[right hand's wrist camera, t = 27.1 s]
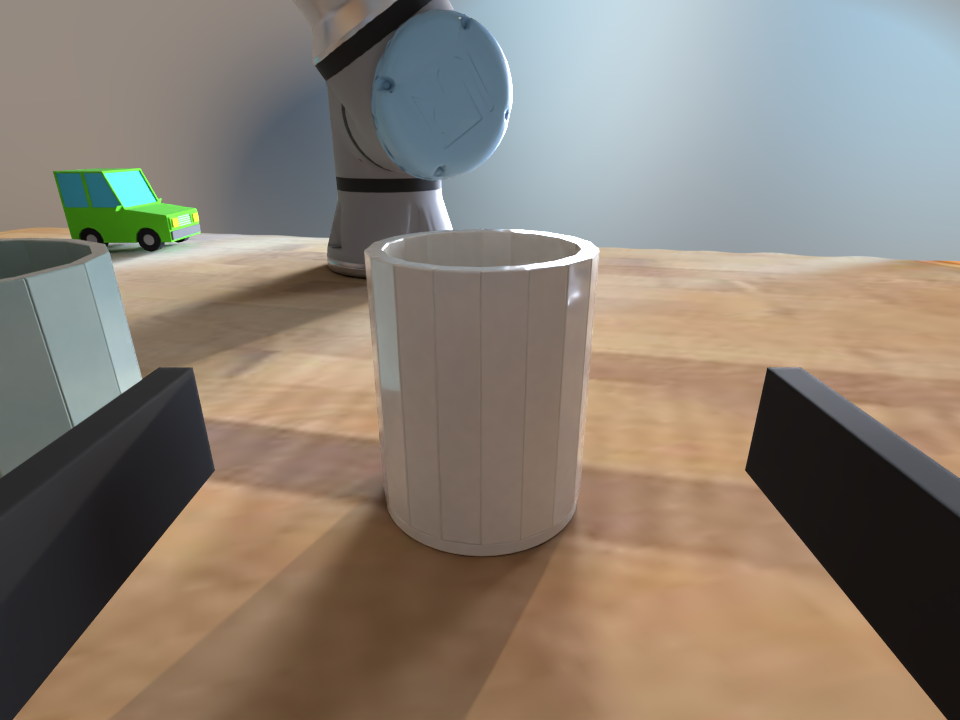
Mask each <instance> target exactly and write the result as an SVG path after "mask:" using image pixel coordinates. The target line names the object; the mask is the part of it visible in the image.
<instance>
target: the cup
mask: <svg viewBox="0 0 960 720" xmlns="http://www.w3.org/2000/svg"><path fill="white" fill-rule="evenodd" d="M364 254H365V266H366V278H367V291H368V303H369V315H370V328H371V340H372V352H373V364H374V377H375V389H376V401H377V414H378V426H379V438H380V451H381V463H382V475H383V488H384V491H385V496H386V505H387V508H388V511H389V513H390V515H391V517H392V519H393V520H394V522H395V523H396V524H397V526H398V527H399V528H400V529H401V530H402V531H404V532H405V533H406V534H407V535H409V536H410V537H412V538H413V539H414V540H416V541H418V542H420V543H422V544H424V545H426V546H429V547H432V548H434V549H437V550H440V551H444V552H448V553H452V554H459V555H466V556H497V555H505V554H511V553H515V552H520V551H524V550H527V549H529V548H532V547H535V546H537V545H539V544H542V543H544V542H546V541H548V540H549V539H551V538H552V537H554V536H555V535H557V534H558V533H559V532H560V531H561V530H562V529H563V528H565V526H566V525H567V524H568V523H569V521H570V520H571V518H572V516H573V515H574V513H575V510H576V507H577V501H578V493H579V490H580V481H581V469H582V457H583V444H584V432H585V420H586V408H587V396H588V383H589V371H590V359H591V347H592V335H593V322H594V310H595V298H596V286H597V274H598V261H599V250H598V249H597V248H596V247H595V246H594V245H593V244H592V243H591V242H588V241H584V240H581V239H578V238H575V237H571V236H565V235H559V234H553V233H545V232H535V231H523V230H502V229H483V230H482V229H461V230H440V231H428V232H419V233H412V234H406V235H399V236H394V237H390V238H387V239H383V240H380V241H377V242H374V243H372V244H371V245H370V246H369V247H367V248H366V249H365V251H364Z"/></svg>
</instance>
